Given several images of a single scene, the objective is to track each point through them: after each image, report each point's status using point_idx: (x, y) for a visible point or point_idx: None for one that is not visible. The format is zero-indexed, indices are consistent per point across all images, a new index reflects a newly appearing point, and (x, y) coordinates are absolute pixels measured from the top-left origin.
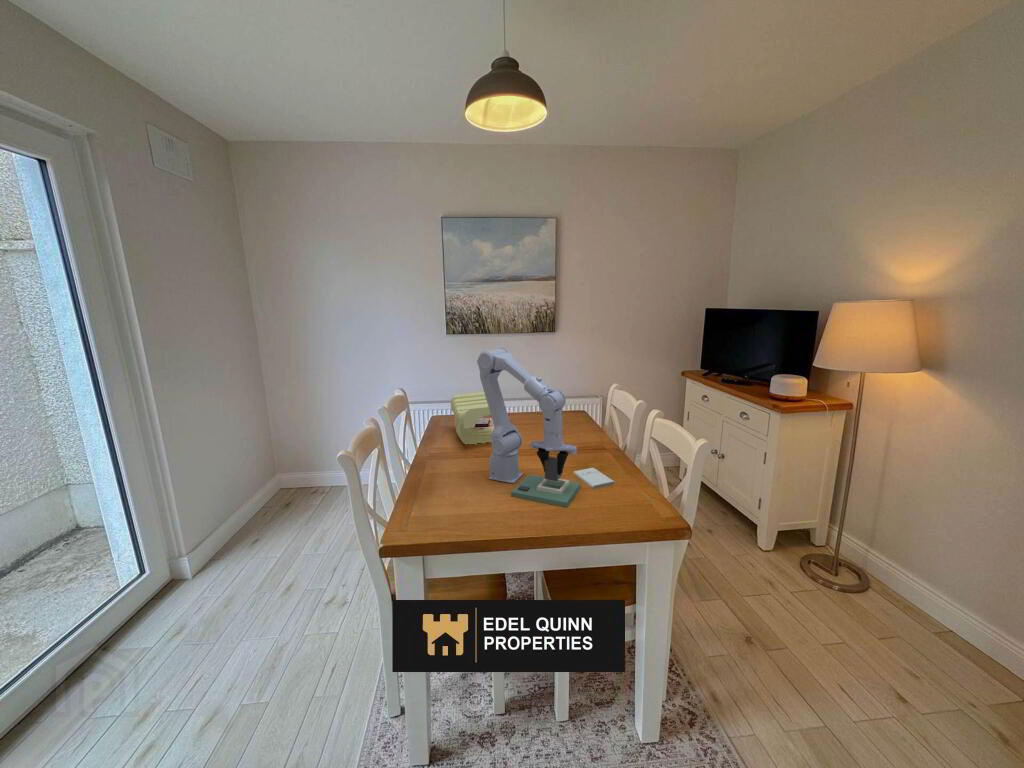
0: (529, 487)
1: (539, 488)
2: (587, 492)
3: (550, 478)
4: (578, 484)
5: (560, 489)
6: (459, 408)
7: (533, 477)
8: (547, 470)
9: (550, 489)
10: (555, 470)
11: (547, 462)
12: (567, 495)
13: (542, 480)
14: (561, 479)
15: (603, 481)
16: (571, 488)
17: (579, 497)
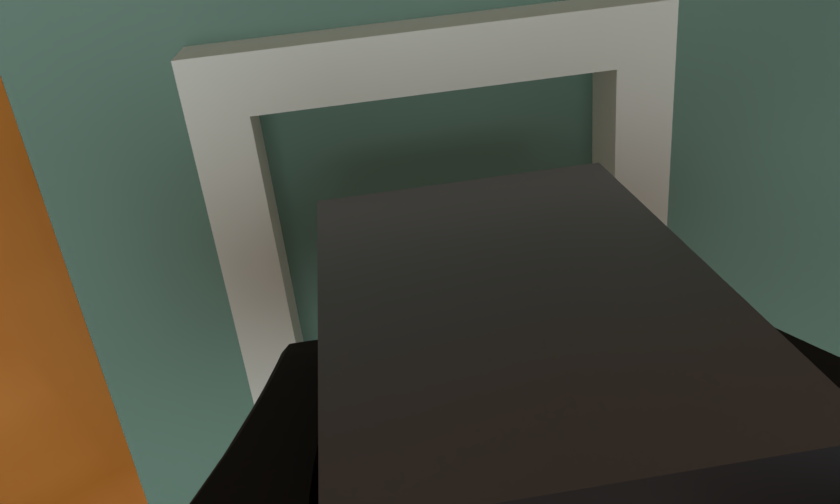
0: (801, 23)
1: (614, 1)
2: (4, 405)
3: (477, 191)
4: (152, 471)
5: (224, 115)
6: None
7: (832, 344)
8: (610, 262)
9: (398, 33)
10: (366, 319)
11: (730, 421)
12: (80, 80)
13: None
14: None
15: None
16: (170, 325)
17: (3, 230)
